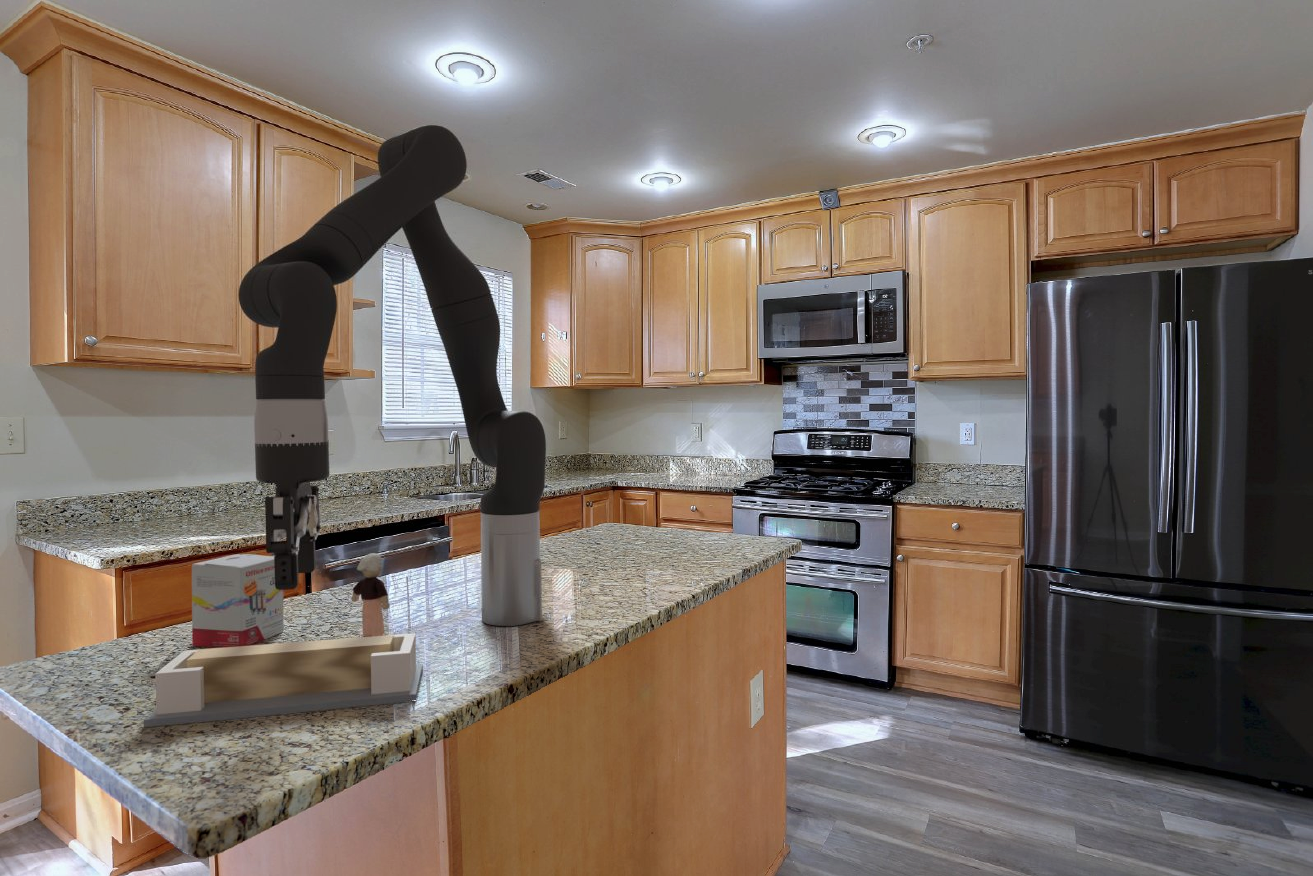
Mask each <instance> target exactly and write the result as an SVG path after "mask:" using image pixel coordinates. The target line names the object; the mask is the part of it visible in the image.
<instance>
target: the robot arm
mask: <svg viewBox="0 0 1313 876" xmlns="http://www.w3.org/2000/svg"><path fill="white" fill-rule="evenodd" d="M377 152H378V153H377V166H378V172H379V175H380V177H379V178H377V179H376V180H375V181H373V182H371V183H370V184H368V185H366V186H365V187H364V188H362V189H360V190H359V191H356V192H355V193H353V195H351V196H349V197H347V198H346V199H344V200H343V201H341V202H340V203H338V204H336V205H335V206H334V207H333V208H332V209H330V210H329V211H328V212H327V213H326V214H324V216H322V217H321V218H320V219H319V220H318V221H316V222H315V224H313V225H312V226H311V227H309V229H308V230H307V231H305V233H304V234H303V235H301V237H299V238H298V239H296V240H294V241H292V242H290V243H289V244H287V245H284V246H283V247H281V248H280V249H277V250H276V251H275V252H273V253H271V254H270V255H268V256H266V257H265V258H264V259H261V260H260V261H259V262H257V263H256V264H255V265H254V266H252V268H250V269H249V270H248V271H247V273H246V274H245V275H244V276H243V278H242V280H241V282H240V285H239V288H238V303H239V306H240V308H241V311H242V312H243V313H244V315H245V316H246V317H247V318H248V319H249V320H250V321H252V322H254V323H255V324H257V325H260V326H262V327H267V328H277V332H276V335H275V336H276V337H275V341H274V342H273V343H272V345H270V346H268V347H266V348H264V349H262V350H261V351H259V352H258V353H257V356H256V358H255V362H254V364H255V365H254V374H255V375H254V377H255V411H254V419H253V423H254V424H253V425H254V427H253V428H254V432H253V433H254V454H255V457H254V460H255V461H254V462H255V478H256V481H257V482H259V483H263V484H274V485H275V492H274V493H275V494H274V496H266V497H265V500H264V506H265V507H264V509H265V510H264V511H265V515H264V516H265V552H266V553H267V554H271V555H270V556H274V568H275V587H276V589H278V590H283V591H286V590H294V589H296V588H297V587H298V586H299V584H300V583H299V581H300V579H299V574H307V573H309V574H310V573H312V572H314V571H315V570H316V566H317V565H316V540H317V538H318V534H319V533H320V531H321V528H322V527H321V525H320V524H321V523H320V522H321V521H320V518H321V517H320V497H319V492H320V487H319V484H312V482H313V483H314V482H320V481H324V480H326V479H328V478H329V476H330V448H329V447H330V446H329V444H330V443H329V441H330V440H329V419H328V413H327V407H326V399H325V398H326V395H325V393H326V390H325V389H326V388H325V387H326V386H325V368H324V366H325V361H326V358H327V354H328V353H329V352H328V350H329V347H330V343H331V338H332V333H333V330H334V325H335V321H336V316H337V312H338V310H337V309H338V299H337V298H338V297H337V291H336V289H335V286H337V285H340V284H343V283H345V282H347V281H349V280H351V279H352V278H353V277H354V276H356V274H358V273H359V271H360V270H362V268H363V267H364V266H365V265H367V263H368V262H369V261H370V260H371V259H372V258H373V257H375V255H376V254H377V253H378V252H379V250H381V248H383V246H384V245H385V244H386V243H387V242H388V241H389V240H391V238H392V237H393V236H394V235H396V233H398V232H399V231H400V230H401V229H402V231H403V233H404V235H405V239H406V240H407V242H408V245H409V248H410V251H411V253H412V257H413V259H414V261H415V264H416V268H417V270H418V272H419V276H420V279H421V280H422V284H423V287H424V290H425V293H426V297H427V301H428V305H429V307H430V310H431V314H432V317H433V320H434V322H435V325H436V329H437V332H438V335H439V337H440V341H441V343H442V345H443V348H444V351H445V354H446V357H447V360H448V364H449V367H450V370H451V373H452V376H453V380H454V382H455V386H456V389H457V393H458V396H459V401H460V406H461V411H462V415H463V418H464V424H465V429H466V432H467V438H468V442H469V444H470V447H471V450H472V452H473V454H474V456H475V458H476V459H478V461H479V462H480V463H482V464H483V465H485V466H487V467H490V468H495V469H496V470H495V482H494V484H493V486H492V488H490V489H489V490H488V491H486V492H484V493H483V494H482V495H481V496H480V565H481V566H480V569H481V571H480V574H481V575H480V583H481V584H480V585H481V592H480V593H481V620H482V622H483V623H484V624H487V625H489V626H490V625H491V626H497V627H498V626H499V627H502V626H503V627H511V626H512V627H513V626H520V625H521V626H522V625H526V624H530V623H533V622H541V621H543V611H542V610H543V609H542V608H543V605H542V603H543V600H542V599H543V598H542V597H543V595H542V591H543V587H542V584H543V583H542V577H543V576H542V559H541V536H540V535H541V532H540V530H541V529H540V528H541V527H540V525H541V524H540V522H541V520H540V507H541V506H540V503H541V502H540V501H541V499H542V497H543V493H544V490H545V482H546V479H545V477H546V461H547V459H546V457H547V456H546V455H547V439H546V433H545V429H544V426H543V424H542V422H541V420H540V419H539V417H537V416H536V415H535V414H533V413H532V412H529V411H526V410H508V408H507V406H506V403H505V401H504V398H503V394H502V392H501V389H500V385H499V384H500V383H499V381H498V368H497V367H498V359H499V358H498V356H499V349H500V343H501V342H500V341H501V324H500V319H499V314H498V311H497V308H496V305H495V304H496V303H495V301H494V298H493V295H492V292H491V288H490V286H489V284H488V281H487V279H486V277H485V276H484V274H482V272H481V271H480V270H479V269H478V267H477V266H476V265H475V264H474V262H472V260H470V258H469V257H468V256H467V255H466V254H465V253H464V252H463V251H462V250H461V249H460V248H459V246H457V245H456V243H455V242H454V241H453V239H452V238H451V237H450V236H449V234H448V232H447V230H446V228H445V226H444V223H443V221H442V219H441V216H440V213H439V211H438V208H437V204H436V201H437V200H438V199H440V198H442V197H443V196H445V195H447V194H448V193H450V192H451V193H452V191H454V190H455V189H457V188H458V187H459V186H460V185H461V184H462V183H463V181H464V179H465V176H466V173H467V167H468V165H467V157H466V153H465V150H464V147H463V145H462V143H461V142H460V140H459V138H458V137H457V136H456V135H455V134H454V133H453V132H452V131H451V130H450V129H449V128H446V127H444V126H442V125H439V124H424V125H420V126H417V127H414V128H412V129H409V130H406V131H404V132H402V133H398V134H397V135H394V136H392V137H390V138H388V139H386V140H385V141H383V142H382V143H381V144H380V145H379V148H378V151H377ZM283 538H285V539H286V540H282V539H283Z"/></svg>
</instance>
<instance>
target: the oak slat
mask: <svg viewBox="0 0 1313 876" xmlns="http://www.w3.org/2000/svg"><path fill="white" fill-rule="evenodd" d="M385 635H386V636H372V637H363V636H362V637H361V636H360V637H349V638H346V637H345V638H335V639H321V640H309V641H306V640H305V641H294V642H282V643H281V642H280V643H268V644H253V645H251V646H239V647H226V648H219V647H211V648H201V649H199V650H198V649H197V650H198V651H197V652H196V653H194V654H193V655H192V656H191V657H190V658H188V659H187V668H195V667H204V703H212V702H223V701H234V700H245V699H256V698H267V697H278V696H289V695H299V694H310V693H321V692H332V691H343V690H354V689H365V688H371V655H372V653H381V652H394V635H395V634H389V635H387V634H385Z"/></svg>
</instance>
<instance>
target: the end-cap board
mask: <svg viewBox="0 0 1313 876" xmlns="http://www.w3.org/2000/svg"><path fill="white" fill-rule="evenodd" d="M384 635H385V636H386V635H387V634H384ZM393 635H394V652H381V653H372V655H371V688H365V689H354V690H343V691H332V692H321V693H310V694H299V695H289V696H278V697H267V698H256V699H245V700H234V701H223V702H212V703H204V667H195V668H187V659H188V658H190V657H191V656H192V655H193V654H194V653H196V652H197V651H198V650H199V649H188V650H187V649H186V650H183V651H181V653H179V654H178V655H177V656H176V657H174V658H173V659H171V661H169V662H168V663H167V664H166V665H165V666H163V667H161V669H159V670H158V671H157V672H156V673H154V674H155V675H154V676H155V709H154V710H152V712H151V713H150V714H149V715H147V716H146V717H145V718H144V719H143V728H151V727H153V728H154V727H163V726H174V725H183V724H192V723H193V724H195V723H204V722H206V723H207V722H214V721H223V720H233V719H234V720H236V719H245V718H255V717H267V716H274V715H275V716H276V715H286V714H296V713H308V712H316V711H327V710H328V711H329V710H337V709H338V710H339V709H347V708H357V707H368V706H379V705H389V704H390V705H391V704H400V703H407V702H406V701H411V702H413V701H412V700H416V701H417V699H416V698H418V693H419V689H420V685H421V680H422V675H423V671H424V669H423V667H424V665H423V663H419V664H417V648H416V647H417V646H416V645H417V643H416V640H417V638H416V637H417V636H416V635H417V634H416V633H415V632H414V633H399V634H398V633H397V634H393Z"/></svg>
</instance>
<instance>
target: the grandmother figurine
mask: <svg viewBox="0 0 1313 876" xmlns="http://www.w3.org/2000/svg"><path fill="white" fill-rule="evenodd" d="M382 562H383V559H382V556H381V554H378V553H374V552H373V553H369V554H367V555H365V556H364V557H363V558H362V559H361V560H360V561H359V563H358V566H357V568H356V570H357V571H360V572H362V574H363V576H364V577H363V578H362V579H360V580H359V581H358V582H357V583H356V584H355V585H354V586H353V587H352V596H351V599H350V600H351V601H352V602H354V603H356V602H358V601H359V599H361V601H362V609H361V611H362V616H361V617H362V618H361V619H362V621H361V623H362V637H372V636H385V635H386V634H385V624H384V616H383V612H382V611H383V610H388V609H390V607H391V605H390V602H389V595H388V591H387V589H386V585H385V583H384V581H383V580H381V579H380V578H378V577H379V576H380V575H381V573H382V568H383V567H382V565H381V564H382Z"/></svg>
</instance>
